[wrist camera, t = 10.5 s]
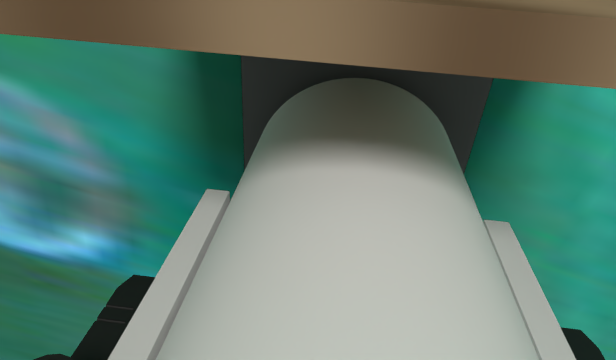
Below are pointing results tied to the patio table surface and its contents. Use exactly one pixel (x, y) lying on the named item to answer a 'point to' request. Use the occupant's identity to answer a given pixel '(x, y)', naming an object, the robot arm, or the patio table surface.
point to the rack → (354, 32)
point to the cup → (350, 244)
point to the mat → (424, 85)
